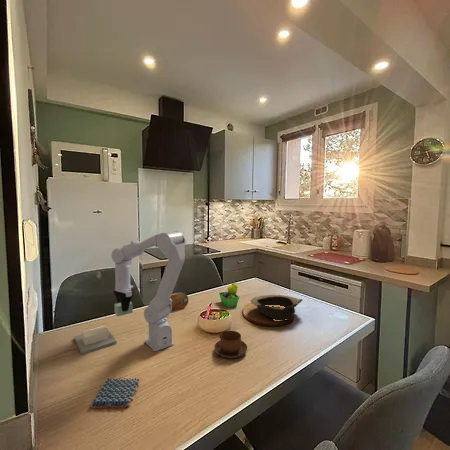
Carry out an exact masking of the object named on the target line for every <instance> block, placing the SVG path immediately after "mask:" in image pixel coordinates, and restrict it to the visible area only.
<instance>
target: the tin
mask: <svg viewBox="0 0 450 450" xmlns="http://www.w3.org/2000/svg"><path fill="white" fill-rule="evenodd" d="M170 298H171V300H172V301H173V302H172V305H171V307H172V310H171V313H172V312H176V311H180V310H184V309H185V308H186V307H187V305H188V304H189V297H188V295H187V294H186V293H184V292H182V291H181V292H180V291H179V292H176V293H172V295H171V297H170Z"/></svg>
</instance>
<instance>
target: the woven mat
mask: <svg viewBox="0 0 450 450" xmlns="http://www.w3.org/2000/svg"><path fill="white" fill-rule="evenodd" d="M138 387H140V379H139V378H132V379H131V378H120V377H119V378H116V379H115V378H111V379H110V378H109V377H108V378H107V380H105V381H104V384H103V385H102V386H101V387H100V390H99V392H98V393H97V395H96V397H95V398H94V399H93V401H92V404H91V405H90V407H91V408H92V409H94V408H95V409H97V408H98V409H99V408H101V409H103V408H104V409H105V408H130V407H131V406H132V401H133V400H134V399H135V398H134V396H135V395H137V391H138Z"/></svg>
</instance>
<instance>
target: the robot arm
mask: <svg viewBox="0 0 450 450" xmlns="http://www.w3.org/2000/svg"><path fill="white" fill-rule="evenodd" d="M186 244H187V239H186V237H185V235H184V233H183V232H182V231H180V230H174V231H170V232H161V233H157V234H154V235H153V236H151V237H148V238H146V239H145V240H142V241H139V240H132V241H130V243H128V244H124V245H123V246H122V247H120V248H114V249H113V250H112V252H111V259H112V261H113V262H114V275H115V278H114V279H115V281H114V282H115V283H114V284H115V288H114V291H113V294H114V296H115V298H116V302H117V303H121V307H122V311H123V312H124V311H128V309H129V305H130V302H132V301H131V300H132V299H133V297H134V293H133V291H132V289H134V285H132V284H131V265H132V260H133V259H134V258H136V257H139V256H142V255H143V253H144V252H145V250H148V249H150V248H153V247H155V248H158V249H159V250H160V252H161V253H162V254H163V256H164V257H166V259H167V260H168V261H167V264H166V266H165V270H164V272H163V275H162V277H161V280H160V283H159V286H158V289H157V292H156V293H155V294H156V295H155V296H154V297H153V298H152V300H151V301H150V302H149V303H148V306H146V308H145V309H144V311H143V317H144V319H145V321H146V322H147V323H148V338H146V339H145V340H144V342H145V343H146V344H147V346H149V347H150V349H152V350H153V351H154V352H157V351H160V350H163V349H165V348H168V347H171V346H173V345H175V343H174V341H173V331H172V327H171V326H170V324H169V320H168V319H169V317H170V316H169V315H170V314H171V313H172V312H171V310H172V307H171V305H172V302H173V301H172V300H171V298H170V297H171V295H172V294H173V292H174V290H175V286H176V285H177V281H178V279H179V277H180V273H181V271H182V268H183V266H184V263H185V261H186V255H185V253H186V250H185V248H186V247H185V246H186Z"/></svg>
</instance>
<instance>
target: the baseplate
mask: <svg viewBox="0 0 450 450" xmlns="http://www.w3.org/2000/svg"><path fill="white" fill-rule="evenodd" d="M73 337H74V342H75V343H76V345H77V348H78V350H79V352H80V355H81V356H82V355H84V354H85V355H86V354H88V353H93V352H94V351H98V350H101V349H104V348H107V347H110V346H114V345H117V340H116V339H115V337H114V336H113V334H112V333H111V332H110V331H109V329H108V328H107V327H106V326H105V325H101V326H98V327H94V328H91V329H87V330H86V329H85V330H82V331H81V334H79V335H75V336H73Z"/></svg>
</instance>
